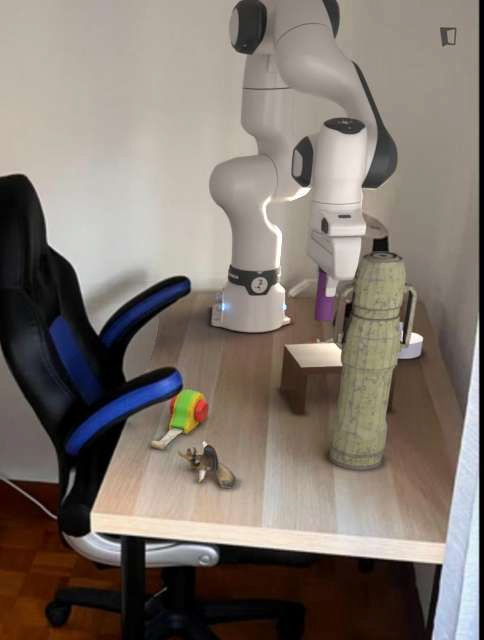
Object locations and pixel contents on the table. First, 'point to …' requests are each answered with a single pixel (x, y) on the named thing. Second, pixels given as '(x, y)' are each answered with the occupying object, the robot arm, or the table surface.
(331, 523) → the table surface
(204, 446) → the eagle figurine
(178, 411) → the toy measuring tape
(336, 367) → the small wooden stool
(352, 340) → the thermos
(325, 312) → the marker
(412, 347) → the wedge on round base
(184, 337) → the table surface
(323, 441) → the table surface
